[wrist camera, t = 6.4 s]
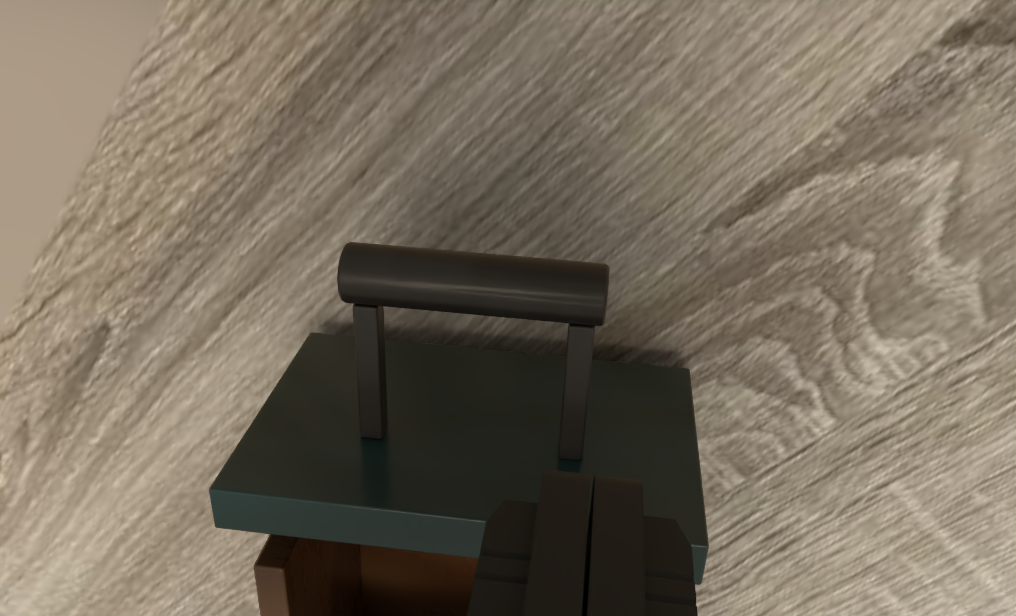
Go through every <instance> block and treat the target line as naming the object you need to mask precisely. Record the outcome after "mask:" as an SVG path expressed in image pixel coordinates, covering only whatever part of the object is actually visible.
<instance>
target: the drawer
mask: <svg viewBox="0 0 1016 616" xmlns="http://www.w3.org/2000/svg"><path fill="white" fill-rule="evenodd" d="M609 270H610V268H609V265H607V264H603V263H591V262H580V261H568V260H556V259H544V258H533V257H521V256H509V255H497V254H486V253H474V252H462V251H451V250H439V249H427V248H415V247H404V246H392V245H380V244H368V243H357V242H350V243H347V244H346V245H345V246H344V248H343V250H342V253H341V256H340V260H339V265H338V276H337V282H338V291H339V295H340V298H341V300H342V301H344V302H346V303H354V305H353V319H354V336H355V337H354V336H343V335H333V334H322V333H310V334H309V336H308V337H307V339H306V340H305V342H304V343H303V345H302V346H301V348H300V350H299V351H298V353H297V354H296V356H295V357H294V359H293V360H292V362H291V363H290V365H289V367H288V368H287V370H286V371H285V373H284V374H283V376H282V377H281V379H280V380H279V382H278V384H277V385H276V387H275V388H274V390H273V391H272V393H271V394H270V396H269V397H268V399H267V400H266V402H265V404H264V405H263V407H262V408H261V410H260V411H259V413H258V414H257V416H256V417H255V419H254V421H253V422H252V424H251V425H250V427H249V428H248V430H247V431H246V433H245V434H244V436H243V438H242V439H241V441H240V442H239V444H238V445H237V447H236V448H235V450H234V451H233V453H232V455H231V456H230V458H229V459H228V461H227V462H226V464H225V465H224V467H223V468H222V470H221V471H220V473H219V475H218V476H217V478H216V479H215V481H214V482H213V484H212V485H211V487H210V489H209V493H210V499H211V505H212V511H213V517H214V523H215V527H217V528H224V529H232V530H241V531H249V532H257V533H266V534H270V535H269V537H268V539H267V541H266V543H265V545H264V547H263V549H262V551H261V553H260V555H259V557H258V559H257V560H256V562H255V564H254V573H255V580H256V586H257V593H258V600H259V607H260V614H261V616H467V611H468V607H469V602H470V597H471V592H472V587H473V583H474V578H475V574H476V568H477V563H478V559H479V555H480V549H481V544H482V539H483V535H484V530H485V525H486V521H487V520H488V519H489V518H490V517H491V515H492V514H493V513H494V512H495V511H496V509H497V508H498V507H499V506H500V505H501V503H502V502H503V501H504V500H505V499H508V500H516V501H524V502H533V503H539V496H540V489H541V482H542V475H543V469H548V470H557V471H565V472H574V473H582V474H590V492H589V508H588V520H589V512H590V504H591V496H592V488H593V480H594V475H601V476H610V477H618V478H627V479H636V480H642V482H643V515H644V516H651V517H659V518H668V519H675V520H676V522H677V523H678V525H679V526H680V528H681V530H682V531H683V533H684V535H685V536H686V538H687V540H688V541H689V543H690V545H691V546H692V556H693V568H694V582H695V584H697V585H700V584H701V583H702V579H703V574H704V569H705V563H706V558H707V553H708V548H709V544H708V534H707V525H706V516H705V507H704V497H703V488H702V479H701V470H700V461H699V451H698V442H697V433H696V424H695V415H694V405H693V396H692V387H691V378H690V370H689V369H688V368H678V367H668V366H657V365H647V364H637V363H626V362H616V361H605V360H595V359H592V353H593V343H594V332H595V326H602V325H603V324H604V322H605V315H606V306H607V296H608V284H609ZM383 306H387V307H398V308H409V309H420V310H430V311H441V312H452V313H463V314H474V315H485V316H496V317H507V318H517V319H528V320H539V321H550V322H561V323H569V325H568V336H567V349H566V357H563V356H553V355H542V354H532V353H521V352H511V351H500V350H490V349H479V348H469V347H459V346H448V345H438V344H427V343H417V342H406V341H396V340H385V335H384V309H383ZM587 529H588V524H587Z"/></svg>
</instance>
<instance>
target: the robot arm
mask: <svg viewBox="0 0 1016 616" xmlns="http://www.w3.org/2000/svg"><path fill="white" fill-rule="evenodd" d="M589 492H590V474H582V473H574V472H565V471H557V470H548V469H543V475H542V482H541V489H540V496H539V503H533V502H524V501H516V500H508V499H505V500H504V501H503V502H502V503H501V505H500V506H499V507H498V508H497V509H496V511H495V512H494V513H493V514H492V515H491V517H490V518H489V519H488V520H487V521H486V525H485V530H484V535H483V539H482V544H481V549H480V555H479V559H478V563H477V568H476V574H475V578H474V583H473V587H472V592H471V597H470V602H469V607H468V611H467V616H697V606H696V592H695V582H694V568H693V556H692V546H691V545H690V543H689V541H688V540H687V538H686V536H685V535H684V533H683V531H682V530H681V528H680V526H679V525H678V523H677V522H676V520H675V519H668V518H659V517H651V516H644V515H643V482H642V480H636V479H627V478H618V477H610V476H601V475H594V480H593V488H592V496H591V504H590V512H589V520H588V508H589ZM587 524H588V529H587Z"/></svg>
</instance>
